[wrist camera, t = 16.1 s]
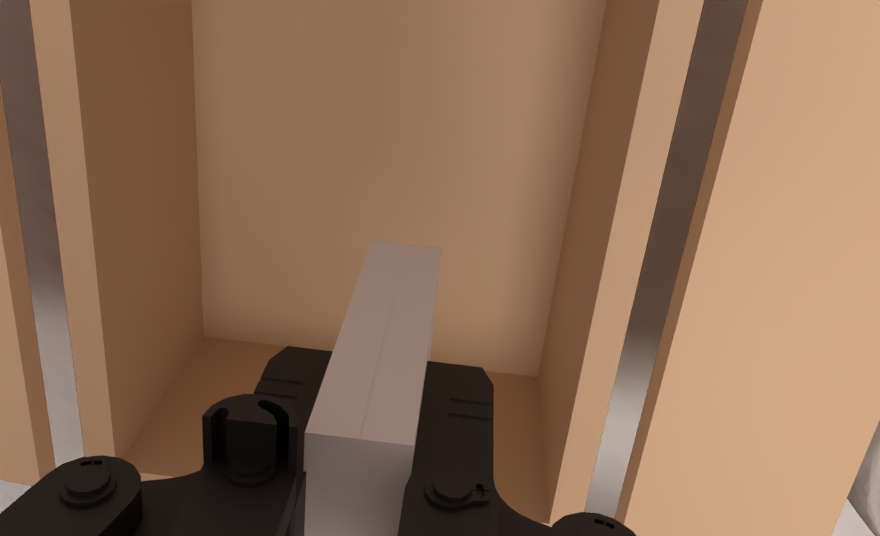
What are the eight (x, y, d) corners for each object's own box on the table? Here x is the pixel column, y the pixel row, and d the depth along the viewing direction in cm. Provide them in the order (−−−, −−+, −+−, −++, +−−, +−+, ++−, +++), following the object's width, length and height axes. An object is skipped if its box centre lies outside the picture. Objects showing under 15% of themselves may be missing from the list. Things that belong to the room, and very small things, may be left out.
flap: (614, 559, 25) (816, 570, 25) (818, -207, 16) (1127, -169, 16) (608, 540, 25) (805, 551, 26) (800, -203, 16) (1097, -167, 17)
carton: (181, 359, 35) (80, 512, 26) (149, -289, 24) (-35, -378, 16) (554, 405, 34) (571, 573, 26) (680, -232, 24) (777, -292, 16)
